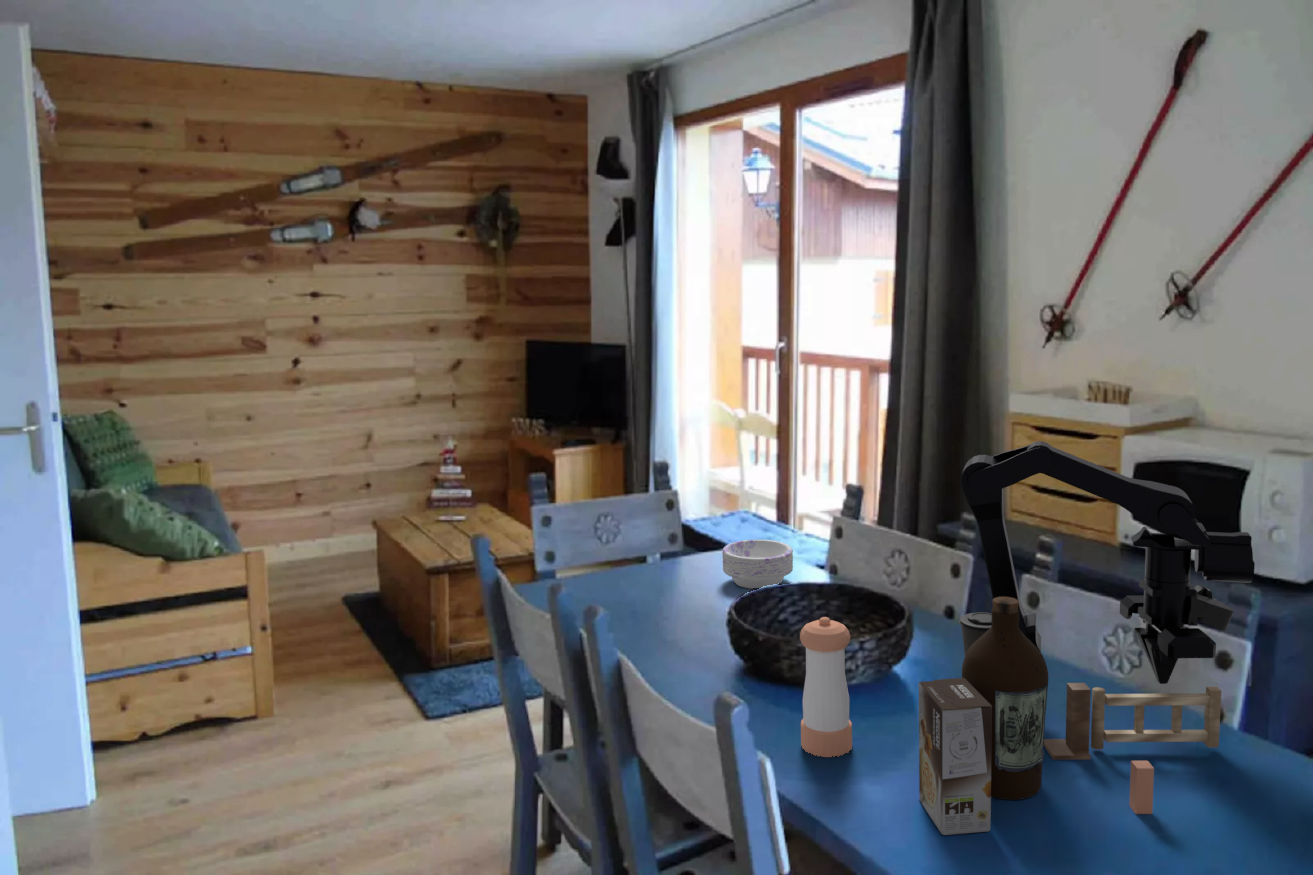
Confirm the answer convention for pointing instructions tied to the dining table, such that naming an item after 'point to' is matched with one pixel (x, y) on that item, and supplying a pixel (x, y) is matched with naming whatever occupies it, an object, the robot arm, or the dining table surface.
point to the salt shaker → (825, 690)
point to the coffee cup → (974, 627)
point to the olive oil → (1011, 700)
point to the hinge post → (1073, 726)
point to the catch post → (1141, 787)
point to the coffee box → (955, 755)
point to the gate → (1140, 700)
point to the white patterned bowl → (757, 562)
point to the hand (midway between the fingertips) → (1162, 682)
